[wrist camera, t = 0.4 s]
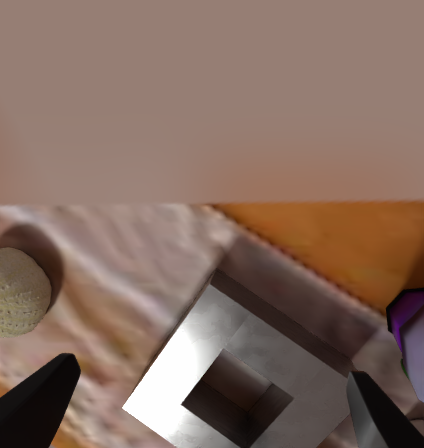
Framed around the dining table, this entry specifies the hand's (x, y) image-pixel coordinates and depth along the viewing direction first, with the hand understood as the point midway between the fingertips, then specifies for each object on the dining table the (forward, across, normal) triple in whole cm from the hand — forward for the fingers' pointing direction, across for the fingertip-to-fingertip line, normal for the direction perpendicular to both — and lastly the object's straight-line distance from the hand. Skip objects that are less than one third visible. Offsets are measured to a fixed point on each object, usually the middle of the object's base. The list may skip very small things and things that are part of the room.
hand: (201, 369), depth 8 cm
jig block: (+12, 0, +16) cm, 21 cm away
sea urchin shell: (+15, +24, +8) cm, 29 cm away
